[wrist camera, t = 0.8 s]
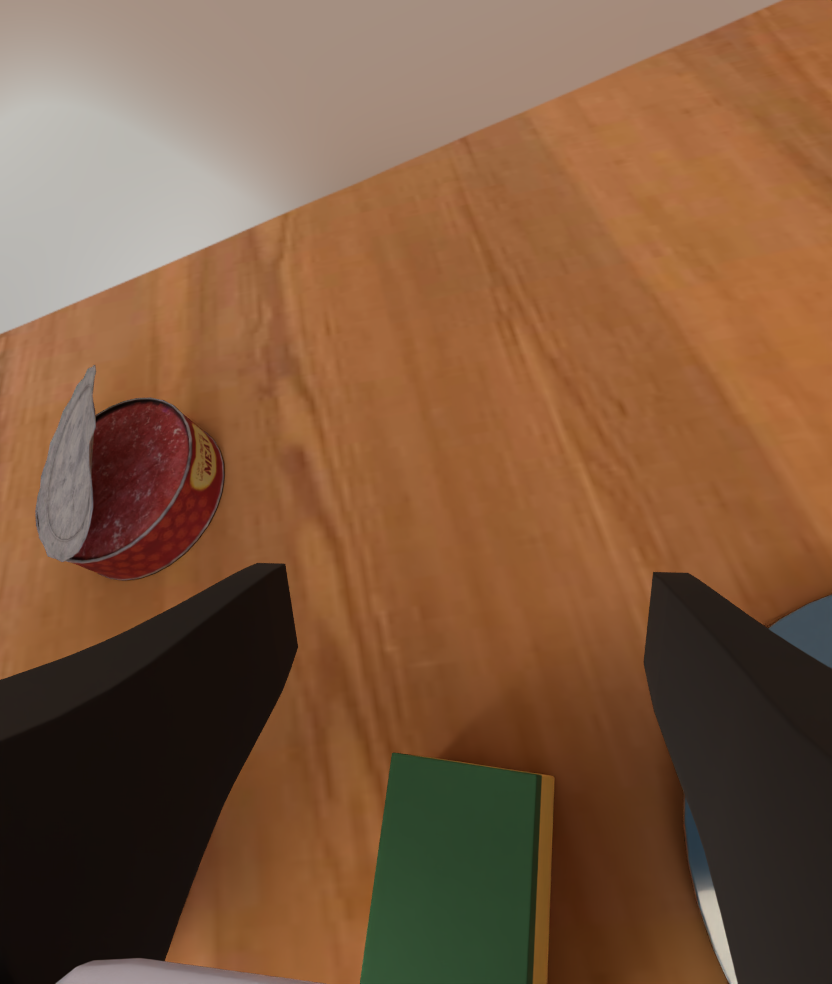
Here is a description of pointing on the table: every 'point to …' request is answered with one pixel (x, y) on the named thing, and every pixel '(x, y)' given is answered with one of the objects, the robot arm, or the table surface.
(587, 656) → the table surface
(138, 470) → the canned food
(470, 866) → the sponge
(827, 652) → the plate
